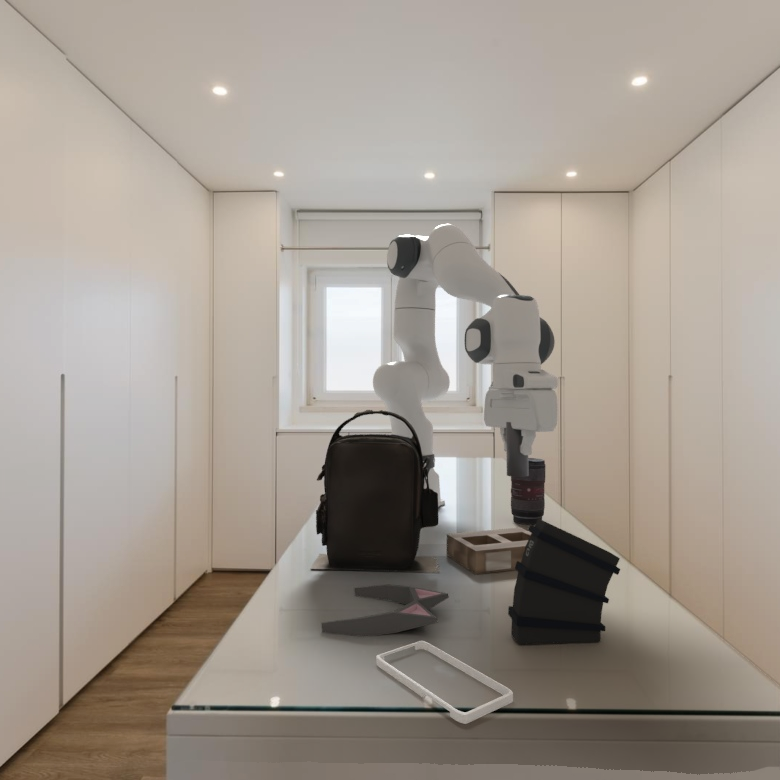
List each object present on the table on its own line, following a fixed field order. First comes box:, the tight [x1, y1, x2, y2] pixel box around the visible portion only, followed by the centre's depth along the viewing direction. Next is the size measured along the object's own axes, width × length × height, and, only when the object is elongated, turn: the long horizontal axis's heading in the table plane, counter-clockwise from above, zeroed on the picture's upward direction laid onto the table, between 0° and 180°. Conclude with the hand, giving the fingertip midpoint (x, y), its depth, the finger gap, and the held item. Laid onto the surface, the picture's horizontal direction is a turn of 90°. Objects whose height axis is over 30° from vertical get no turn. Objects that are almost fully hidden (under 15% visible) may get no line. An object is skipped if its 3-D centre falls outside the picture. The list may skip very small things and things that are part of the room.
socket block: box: [446, 527, 531, 575], centre depth 105 cm, size 12×16×4 cm
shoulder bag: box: [310, 409, 441, 574], centre depth 103 cm, size 23×9×28 cm, turn 87°
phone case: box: [375, 640, 514, 725], centre depth 62 cm, size 7×1×15 cm
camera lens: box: [510, 457, 546, 525], centre depth 136 cm, size 8×8×15 cm
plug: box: [505, 422, 529, 477], centre depth 107 cm, size 4×4×10 cm
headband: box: [320, 583, 450, 637], centre depth 79 cm, size 14×3×15 cm
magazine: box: [507, 519, 621, 646], centre depth 72 cm, size 4×13×15 cm, turn 95°
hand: (517, 453), depth 107 cm, fingers closed on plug, 4 cm apart
